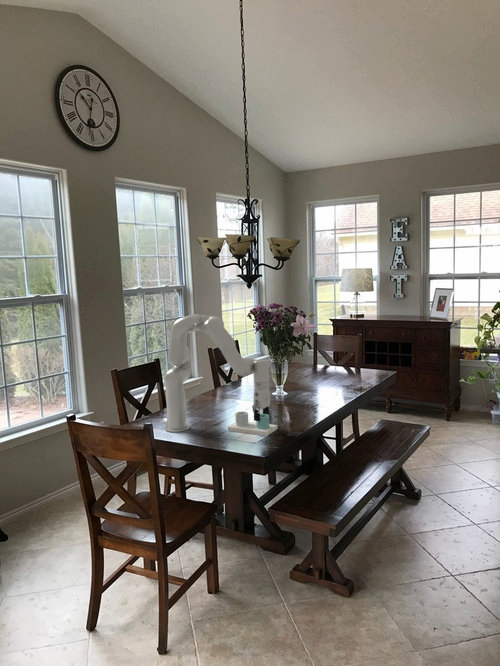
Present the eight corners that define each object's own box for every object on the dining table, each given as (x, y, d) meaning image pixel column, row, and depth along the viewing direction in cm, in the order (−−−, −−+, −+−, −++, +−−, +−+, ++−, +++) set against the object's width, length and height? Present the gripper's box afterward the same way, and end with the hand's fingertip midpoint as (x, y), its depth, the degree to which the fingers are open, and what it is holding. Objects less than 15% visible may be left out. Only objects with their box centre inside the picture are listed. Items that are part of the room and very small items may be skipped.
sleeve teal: (254, 428, 269) (254, 416, 268) (260, 425, 275) (260, 413, 274) (265, 429, 266) (265, 417, 266) (271, 426, 272) (270, 414, 271)
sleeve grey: (233, 425, 275) (233, 414, 274) (239, 422, 280) (239, 411, 279) (244, 427, 272) (243, 415, 271) (250, 423, 277) (249, 412, 277)
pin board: (227, 430, 274) (227, 417, 273) (239, 424, 284) (238, 411, 283) (266, 436, 263) (266, 422, 262) (277, 429, 274) (276, 415, 273)
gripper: (260, 389, 258) (260, 423, 261) (275, 381, 273) (275, 414, 276) (246, 387, 262) (246, 421, 264) (262, 380, 277) (262, 412, 279)
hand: (261, 418), depth 270 cm, fingers open, 9 cm apart
